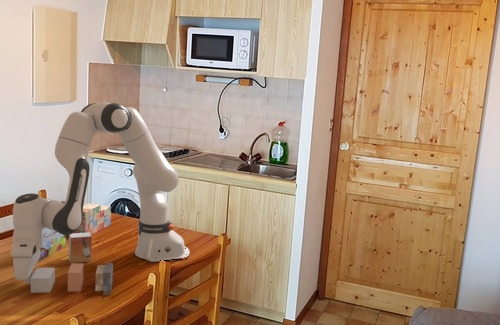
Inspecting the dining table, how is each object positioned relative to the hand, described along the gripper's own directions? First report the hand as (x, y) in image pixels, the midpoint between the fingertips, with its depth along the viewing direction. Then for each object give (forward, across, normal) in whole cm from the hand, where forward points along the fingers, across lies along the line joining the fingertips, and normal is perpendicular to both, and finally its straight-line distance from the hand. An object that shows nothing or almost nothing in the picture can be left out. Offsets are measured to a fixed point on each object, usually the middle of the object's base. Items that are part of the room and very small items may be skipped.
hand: (28, 281), depth 174 cm
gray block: (+2, 0, +5) cm, 5 cm away
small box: (+3, -27, +13) cm, 30 cm away
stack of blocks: (+4, -64, +14) cm, 66 cm away
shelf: (+3, 0, +14) cm, 14 cm away
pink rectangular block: (+2, 0, +15) cm, 15 cm away
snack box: (+3, -34, -1) cm, 34 cm away
